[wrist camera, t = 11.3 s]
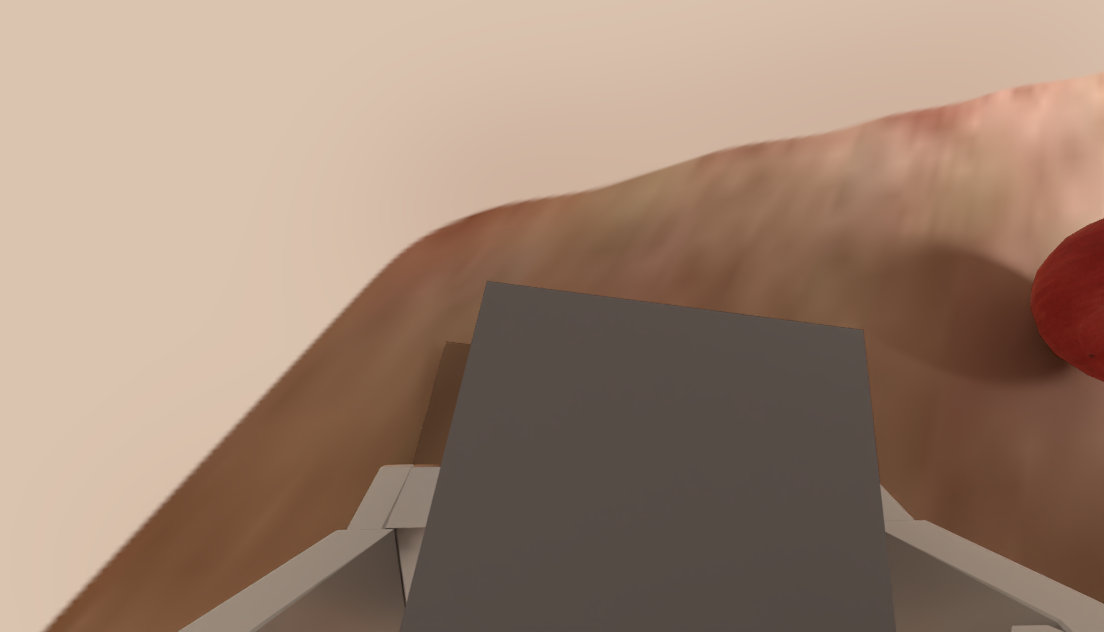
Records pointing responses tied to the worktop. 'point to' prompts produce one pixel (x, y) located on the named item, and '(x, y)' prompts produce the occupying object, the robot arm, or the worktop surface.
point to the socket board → (442, 404)
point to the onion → (1073, 300)
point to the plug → (654, 475)
